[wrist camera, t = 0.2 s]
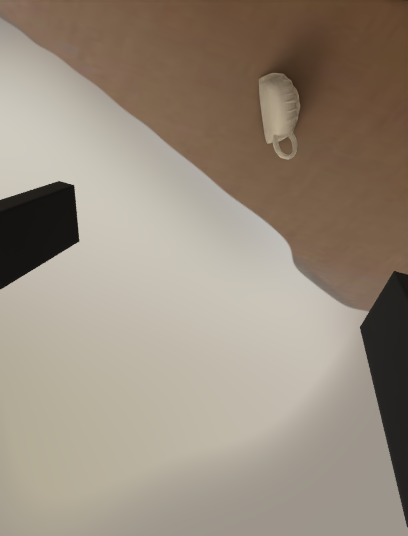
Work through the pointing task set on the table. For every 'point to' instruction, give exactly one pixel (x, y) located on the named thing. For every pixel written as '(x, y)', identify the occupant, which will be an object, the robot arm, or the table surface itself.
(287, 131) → the decorative ornament
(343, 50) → the table surface
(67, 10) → the table surface
